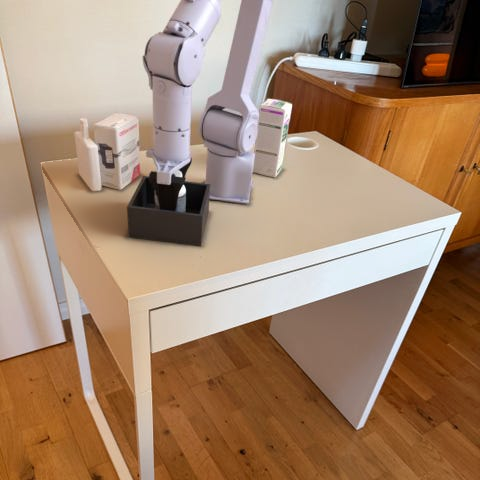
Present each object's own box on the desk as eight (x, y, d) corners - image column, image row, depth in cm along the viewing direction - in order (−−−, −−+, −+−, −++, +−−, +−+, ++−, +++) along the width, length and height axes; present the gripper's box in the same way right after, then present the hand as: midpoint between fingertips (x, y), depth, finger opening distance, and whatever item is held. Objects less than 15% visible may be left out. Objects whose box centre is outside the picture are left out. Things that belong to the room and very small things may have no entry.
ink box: (119, 169, 95) (115, 110, 88) (141, 174, 95) (139, 116, 87) (98, 185, 89) (92, 123, 81) (121, 190, 88) (117, 128, 81)
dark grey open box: (208, 212, 86) (210, 184, 82) (200, 246, 76) (202, 216, 73) (144, 204, 85) (143, 175, 82) (128, 237, 76) (126, 206, 72)
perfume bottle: (102, 190, 88) (96, 126, 80) (92, 191, 87) (85, 127, 79) (88, 173, 92) (81, 111, 85) (79, 174, 91) (71, 112, 84)
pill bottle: (183, 213, 83) (184, 166, 77) (187, 228, 79) (188, 179, 73) (153, 213, 82) (153, 166, 76) (156, 228, 78) (155, 179, 72)
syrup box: (275, 178, 101) (287, 109, 91) (250, 172, 102) (259, 103, 92) (282, 169, 105) (293, 102, 95) (258, 163, 106) (267, 97, 96)
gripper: (155, 108, 75) (156, 185, 84) (135, 138, 64) (138, 223, 73) (197, 113, 75) (194, 190, 84) (184, 144, 64) (182, 229, 73)
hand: (171, 206), depth 79 cm, fingers closed on pill bottle, 5 cm apart
